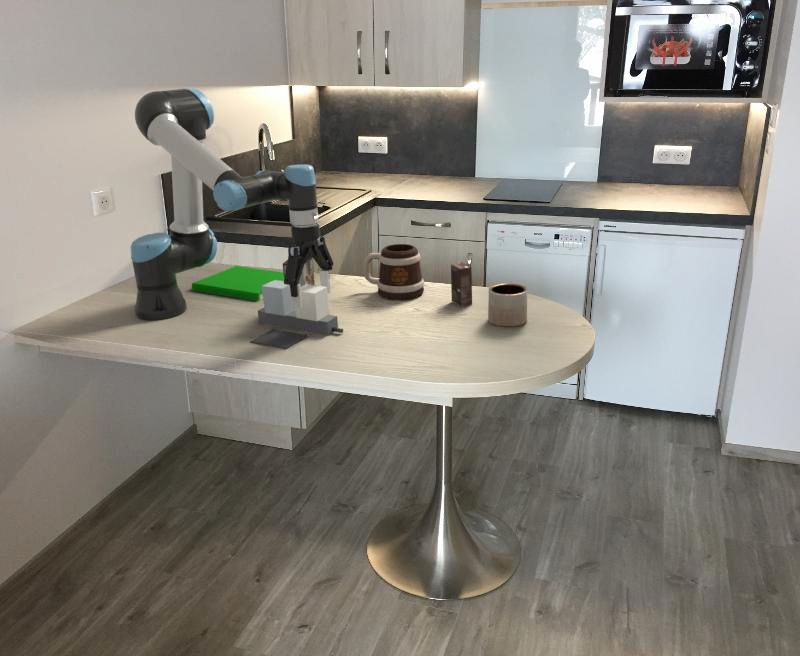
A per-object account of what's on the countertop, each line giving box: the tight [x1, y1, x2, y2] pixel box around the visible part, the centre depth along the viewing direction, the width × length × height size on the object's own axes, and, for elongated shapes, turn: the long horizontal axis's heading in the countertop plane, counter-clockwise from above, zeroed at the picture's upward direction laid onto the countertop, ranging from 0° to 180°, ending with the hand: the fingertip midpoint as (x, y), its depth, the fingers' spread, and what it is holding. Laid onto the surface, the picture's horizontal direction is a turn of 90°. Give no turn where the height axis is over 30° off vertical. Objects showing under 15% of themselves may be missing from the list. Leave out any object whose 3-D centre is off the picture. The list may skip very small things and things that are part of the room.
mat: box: [249, 328, 309, 350], centre depth 196 cm, size 12×10×1 cm
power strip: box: [257, 307, 344, 336], centre depth 204 cm, size 27×5×4 cm, turn 62°
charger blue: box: [262, 280, 295, 316], centre depth 205 cm, size 7×6×9 cm
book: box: [191, 265, 284, 302], centre depth 243 cm, size 22×28×3 cm
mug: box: [362, 243, 425, 301], centre depth 228 cm, size 20×15×15 cm
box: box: [450, 261, 473, 308], centre depth 216 cm, size 6×4×12 cm
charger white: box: [295, 284, 330, 321], centre depth 200 cm, size 7×6×9 cm
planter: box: [487, 282, 528, 328], centre depth 202 cm, size 11×11×10 cm
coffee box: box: [282, 257, 316, 287], centre depth 215 cm, size 9×6×16 cm
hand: (312, 300), depth 199 cm, fingers open, 13 cm apart
